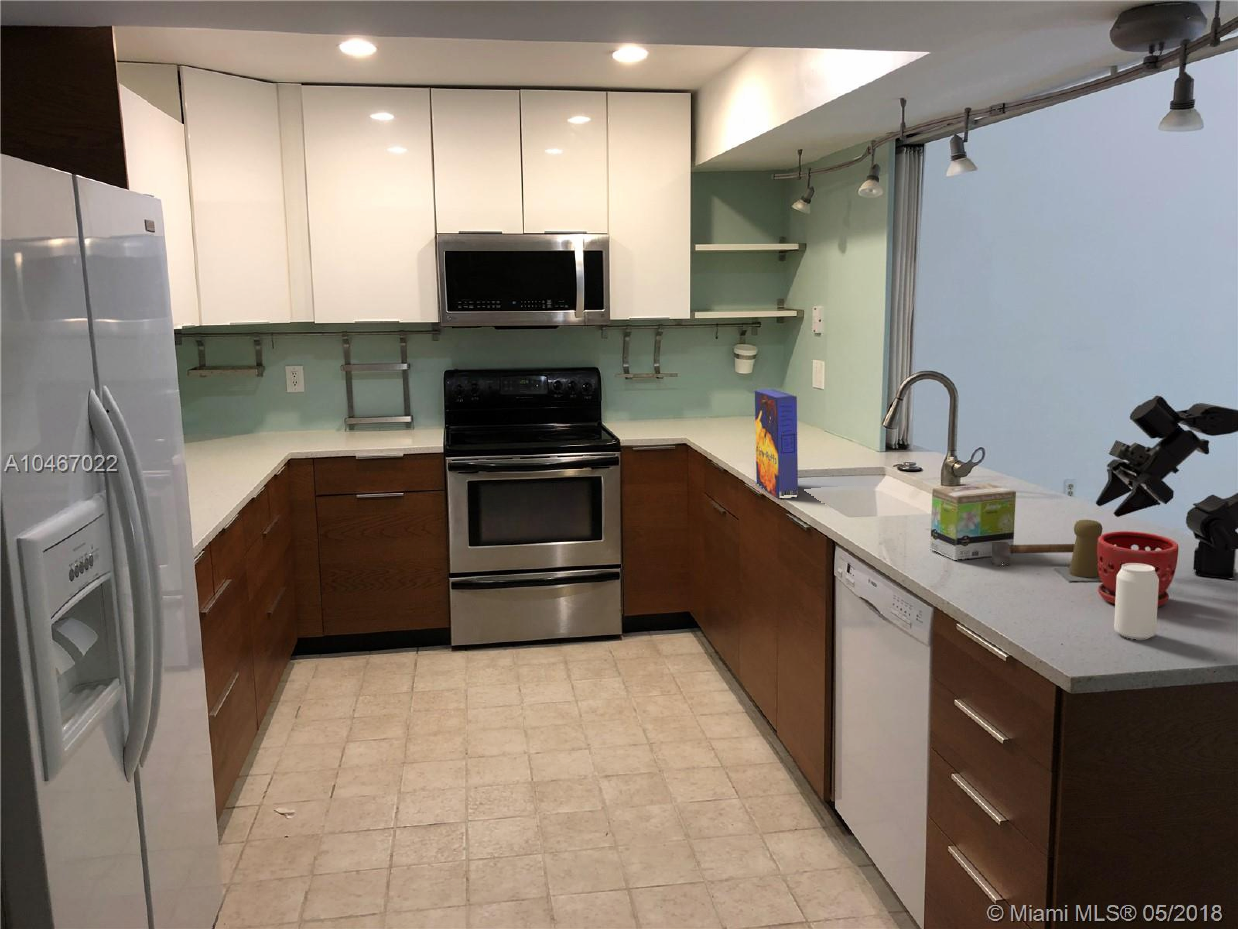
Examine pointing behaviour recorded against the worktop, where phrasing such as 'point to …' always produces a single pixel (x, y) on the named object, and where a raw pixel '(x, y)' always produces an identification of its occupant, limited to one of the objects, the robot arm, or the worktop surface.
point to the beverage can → (1136, 601)
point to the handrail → (1025, 550)
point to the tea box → (971, 519)
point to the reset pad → (1071, 577)
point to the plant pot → (1135, 559)
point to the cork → (1086, 549)
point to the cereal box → (776, 442)
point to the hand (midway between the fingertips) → (1106, 510)
